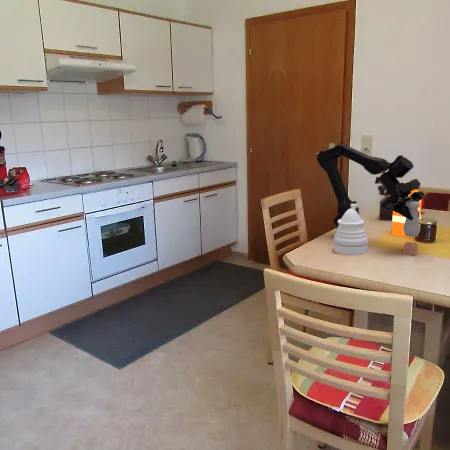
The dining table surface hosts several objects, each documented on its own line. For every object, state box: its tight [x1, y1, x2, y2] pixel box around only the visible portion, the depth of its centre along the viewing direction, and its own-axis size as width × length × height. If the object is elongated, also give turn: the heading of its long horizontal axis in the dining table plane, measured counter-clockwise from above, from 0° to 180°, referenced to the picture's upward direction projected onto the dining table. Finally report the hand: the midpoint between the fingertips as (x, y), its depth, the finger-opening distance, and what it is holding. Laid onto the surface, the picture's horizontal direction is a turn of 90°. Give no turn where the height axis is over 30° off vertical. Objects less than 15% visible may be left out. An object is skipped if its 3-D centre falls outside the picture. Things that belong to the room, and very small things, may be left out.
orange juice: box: [391, 189, 422, 239], centre depth 192 cm, size 8×9×20 cm
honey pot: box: [333, 203, 369, 256], centre depth 174 cm, size 13×13×18 cm
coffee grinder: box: [377, 184, 393, 222], centre depth 221 cm, size 16×11×18 cm
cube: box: [403, 241, 419, 257], centre depth 168 cm, size 4×4×4 cm
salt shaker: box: [403, 201, 421, 238], centre depth 167 cm, size 6×6×13 cm
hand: (415, 219), depth 165 cm, fingers closed on salt shaker, 3 cm apart
